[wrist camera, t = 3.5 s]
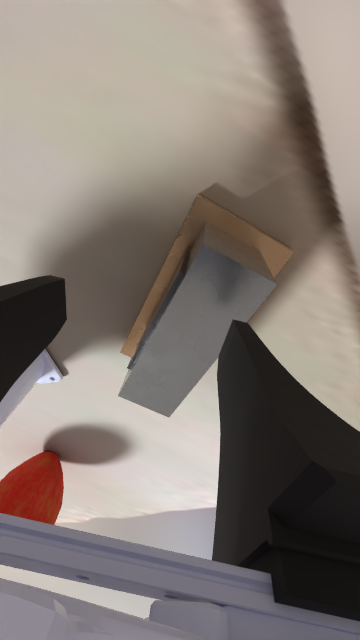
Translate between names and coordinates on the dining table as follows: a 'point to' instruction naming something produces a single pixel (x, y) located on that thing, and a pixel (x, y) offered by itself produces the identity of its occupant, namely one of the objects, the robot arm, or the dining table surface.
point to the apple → (34, 489)
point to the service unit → (198, 303)
